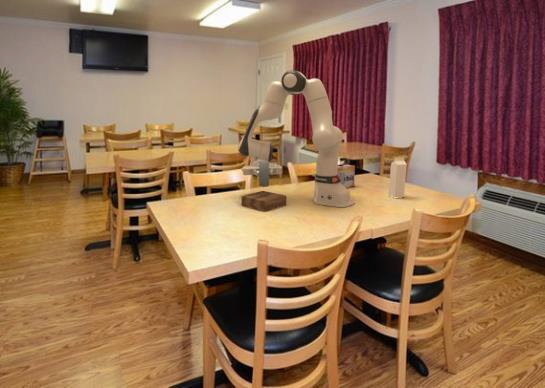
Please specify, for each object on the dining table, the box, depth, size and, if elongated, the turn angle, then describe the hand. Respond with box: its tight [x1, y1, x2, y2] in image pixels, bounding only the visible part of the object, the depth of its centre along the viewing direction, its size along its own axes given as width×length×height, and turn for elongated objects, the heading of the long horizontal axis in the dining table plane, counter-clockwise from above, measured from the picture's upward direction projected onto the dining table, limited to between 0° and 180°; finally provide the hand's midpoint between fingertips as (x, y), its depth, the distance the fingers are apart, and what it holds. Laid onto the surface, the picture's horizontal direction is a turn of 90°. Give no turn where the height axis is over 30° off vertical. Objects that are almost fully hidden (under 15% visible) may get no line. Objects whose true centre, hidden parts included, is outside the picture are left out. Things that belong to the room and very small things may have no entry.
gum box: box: [337, 163, 356, 188], centre depth 237 cm, size 24×8×14 cm, turn 123°
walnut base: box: [241, 190, 287, 213], centre depth 196 cm, size 16×16×5 cm
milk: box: [388, 157, 408, 197], centre depth 213 cm, size 6×6×22 cm
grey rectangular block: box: [258, 161, 270, 188], centre depth 193 cm, size 5×5×12 cm
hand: (264, 173), depth 192 cm, fingers closed on grey rectangular block, 5 cm apart
